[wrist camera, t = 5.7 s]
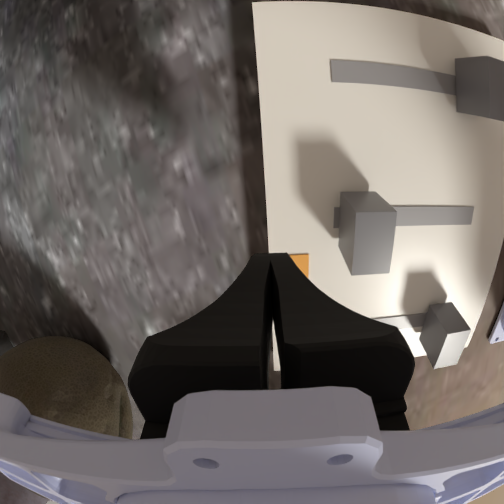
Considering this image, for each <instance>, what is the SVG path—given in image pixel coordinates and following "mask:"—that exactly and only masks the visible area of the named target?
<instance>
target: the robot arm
mask: <svg viewBox="0 0 504 504" xmlns="http://www.w3.org/2000/svg"><path fill="white" fill-rule="evenodd" d="M273 322H274V329H275V336H276V342H277V349H278V355H279V362H280V371H281V389H278V390H269V381H268V372H269V358H270V347H271V337H272V326H273ZM503 340H504V302H503V305H502V308H501V310H500V313H499V315H498V318H497V320H496V323H495V325H494V328H493V330H492V332H491V335H490V337H489V339H488V341H489V343H490V344H492V343H496V342H500V341H503ZM414 367H415V361H414V356H413V354H412V352H411V350H410V347H409V345H408V343H407V342H406V340H405V338H404V337H403V335H402V334H401V332H400V331H399V329H398V327H396V326H393V325H389V324H386V323H383V322H380V321H376V320H373V319H371V318H368V317H366V316H363V315H361V314H359V313H357V312H355V311H352V310H350V309H349V308H347V307H345V306H343V305H341V304H340V303H338V302H336V301H335V300H333V299H332V298H330V297H329V296H328V295H326V294H325V293H324V292H322V291H321V290H320V289H318V288H317V287H316V286H315V285H314V284H313V283H312V282H311V281H310V280H309V279H308V278H307V277H306V276H305V275H304V273H303V272H302V271H301V270H300V269H299V268H298V266H297V265H296V264H295V263H294V261H293V260H292V258H291V257H290V255H289V254H288V253H287V252H285V253H262V254H254V255H253V256H252V257H251V258H250V260H249V262H248V263H247V265H246V267H245V268H244V270H243V271H242V272H241V274H240V275H239V276H238V278H237V279H236V280H235V281H234V282H233V284H232V285H231V286H230V287H229V288H228V289H227V290H226V291H225V292H224V293H223V294H222V295H221V296H220V297H219V298H218V299H217V300H216V301H215V302H213V303H212V304H211V305H209V306H208V307H206V308H205V309H204V310H202V311H201V312H199V313H198V314H196V315H195V316H193V317H191V318H190V319H188V320H186V321H184V322H182V323H180V324H178V325H176V326H174V327H172V328H170V329H167V330H165V331H162V332H159V333H157V334H154V335H152V336H149V337H147V338H146V340H145V342H144V344H143V345H142V347H141V349H140V351H139V353H138V355H137V357H136V360H135V362H134V364H133V367H132V369H131V372H130V374H129V377H128V387H129V390H130V393H131V395H132V397H133V399H134V401H135V403H136V405H137V407H138V408H139V410H140V412H141V414H142V416H143V417H144V419H145V424H144V427H143V431H142V434H141V437H140V439H138V440H133V439H127V438H121V437H116V436H111V435H106V434H101V433H96V432H92V431H87V430H83V429H79V428H75V427H71V426H67V425H64V424H60V423H56V422H53V421H50V420H46V419H43V418H40V417H37V416H34V415H31V414H30V412H29V410H28V409H27V408H26V406H25V405H24V404H23V403H22V402H21V401H19V400H18V399H16V398H14V397H11V396H8V395H6V394H3V393H0V472H2V473H3V474H4V475H5V476H6V477H8V478H9V479H11V480H12V481H14V482H16V483H18V484H20V485H22V486H24V487H26V488H28V489H30V490H32V491H34V492H36V493H38V494H40V495H42V496H44V497H46V498H48V499H50V500H52V501H55V502H57V503H59V504H467V503H469V502H471V501H473V500H475V499H477V498H479V497H480V496H483V495H485V494H487V493H489V492H490V491H492V490H494V489H496V488H498V487H500V486H501V485H503V484H504V403H502V404H500V405H497V406H494V407H492V408H489V409H486V410H483V411H481V412H478V413H475V414H472V415H469V416H466V417H463V418H459V419H456V420H453V421H449V422H446V423H442V424H439V425H435V426H431V427H427V428H423V429H419V430H414V431H410V429H409V426H408V423H407V420H406V417H405V414H404V412H406V410H407V405H406V402H405V400H404V394H405V392H406V390H407V387H408V385H409V383H410V380H411V378H412V375H413V372H414Z"/></svg>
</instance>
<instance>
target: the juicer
mask: <svg viewBox="0 0 504 504" xmlns="http://www.w3.org/2000/svg"><path fill="white" fill-rule="evenodd" d="M12 348H14V347H13V345H12V343H11V342H10V340H9V338H8V336H7V334H6V332H5V331H1V330H0V356H1V355H3V354H4V353H5V352H7V351H8V350H10V349H12ZM48 501H52V500H50V499H47V498H43V497H41V496H39V495H37V494H35V493H33V492H31V491H29V490H28V489H26V488H25V487H23V486H22V485H20V484H18V483H16V482H14V481H12V480H11V479H9V478H8V477H6V476H5V475H4V474H3V473H2V472H0V504H46V503H47V502H48Z"/></svg>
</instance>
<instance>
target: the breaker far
mask: <svg viewBox="0 0 504 504" xmlns="http://www.w3.org/2000/svg"><path fill="white" fill-rule="evenodd" d="M470 332H471V329H470V327H469V326H468V324H467V323H466V321H465V320H464V318H463V317H462V316H461V314H460V313H459V311H458V310H457V309H456V307H455V306H454V304H453V303H452V302H447V303H439V304H431V305H429V307H428V310H427V314H426V317H425V321H424V324H423V327H422V331H421V334H420V337H419V340H420V342H421V344H422V346H423V348H424V350H425V352H426V354H427V356H428V358H429V360H430V362H431V364H432V367H433V369H436V368H441V367H446V366H450V365H455V364H457V362H458V360H459V358H460V355H461V353H462V351H463V349H464V346H465V344H466V342H467V339H468V337H469V334H470Z"/></svg>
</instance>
